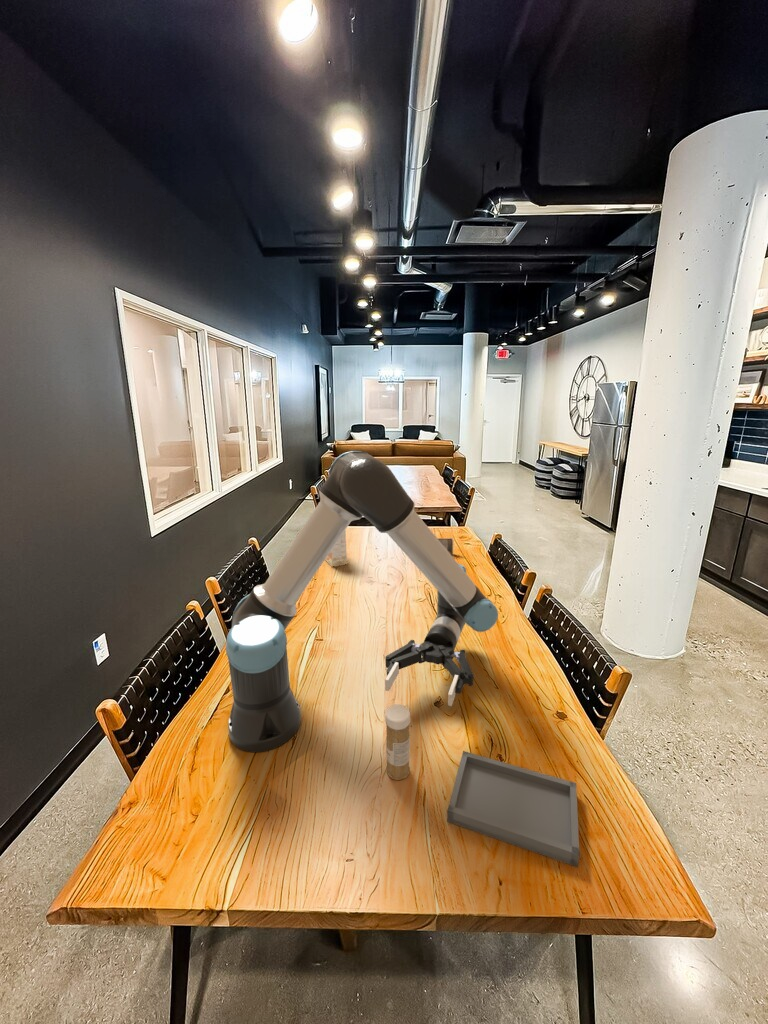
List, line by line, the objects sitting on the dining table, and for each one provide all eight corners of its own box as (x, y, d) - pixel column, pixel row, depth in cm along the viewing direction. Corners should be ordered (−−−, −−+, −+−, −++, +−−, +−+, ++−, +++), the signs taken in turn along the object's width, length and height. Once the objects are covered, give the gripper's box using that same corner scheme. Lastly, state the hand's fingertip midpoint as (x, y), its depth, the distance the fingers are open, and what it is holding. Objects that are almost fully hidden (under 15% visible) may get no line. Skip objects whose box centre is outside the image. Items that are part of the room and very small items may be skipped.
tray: (447, 821, 71) (447, 810, 71) (462, 761, 83) (463, 750, 82) (577, 867, 64) (579, 854, 64) (574, 794, 76) (576, 783, 75)
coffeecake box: (320, 555, 190) (318, 513, 185) (336, 553, 193) (334, 511, 187) (331, 567, 177) (329, 522, 171) (347, 564, 180) (345, 520, 174)
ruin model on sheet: (427, 557, 187) (427, 536, 184) (426, 554, 190) (426, 534, 187) (453, 557, 187) (453, 536, 184) (452, 554, 190) (452, 533, 187)
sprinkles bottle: (385, 762, 83) (384, 704, 80) (408, 760, 84) (408, 702, 80) (387, 782, 79) (386, 722, 75) (412, 780, 79) (412, 720, 76)
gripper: (492, 661, 104) (477, 722, 85) (396, 642, 113) (363, 694, 94) (493, 633, 102) (478, 690, 83) (395, 617, 111) (361, 664, 92)
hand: (417, 692), depth 89 cm, fingers open, 13 cm apart
